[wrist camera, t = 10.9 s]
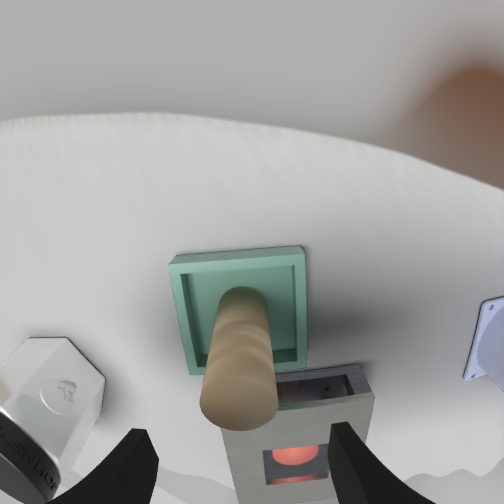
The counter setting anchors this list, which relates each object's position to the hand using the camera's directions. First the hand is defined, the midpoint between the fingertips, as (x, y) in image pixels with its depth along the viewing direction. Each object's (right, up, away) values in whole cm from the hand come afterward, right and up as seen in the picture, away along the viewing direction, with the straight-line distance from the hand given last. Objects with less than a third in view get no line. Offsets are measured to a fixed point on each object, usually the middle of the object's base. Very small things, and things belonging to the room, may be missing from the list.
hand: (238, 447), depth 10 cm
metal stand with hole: (+4, -7, +13) cm, 15 cm away
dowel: (0, +4, +9) cm, 10 cm away
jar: (-16, -3, +12) cm, 20 cm away
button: (+4, -8, +12) cm, 14 cm away
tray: (0, +4, +10) cm, 10 cm away
